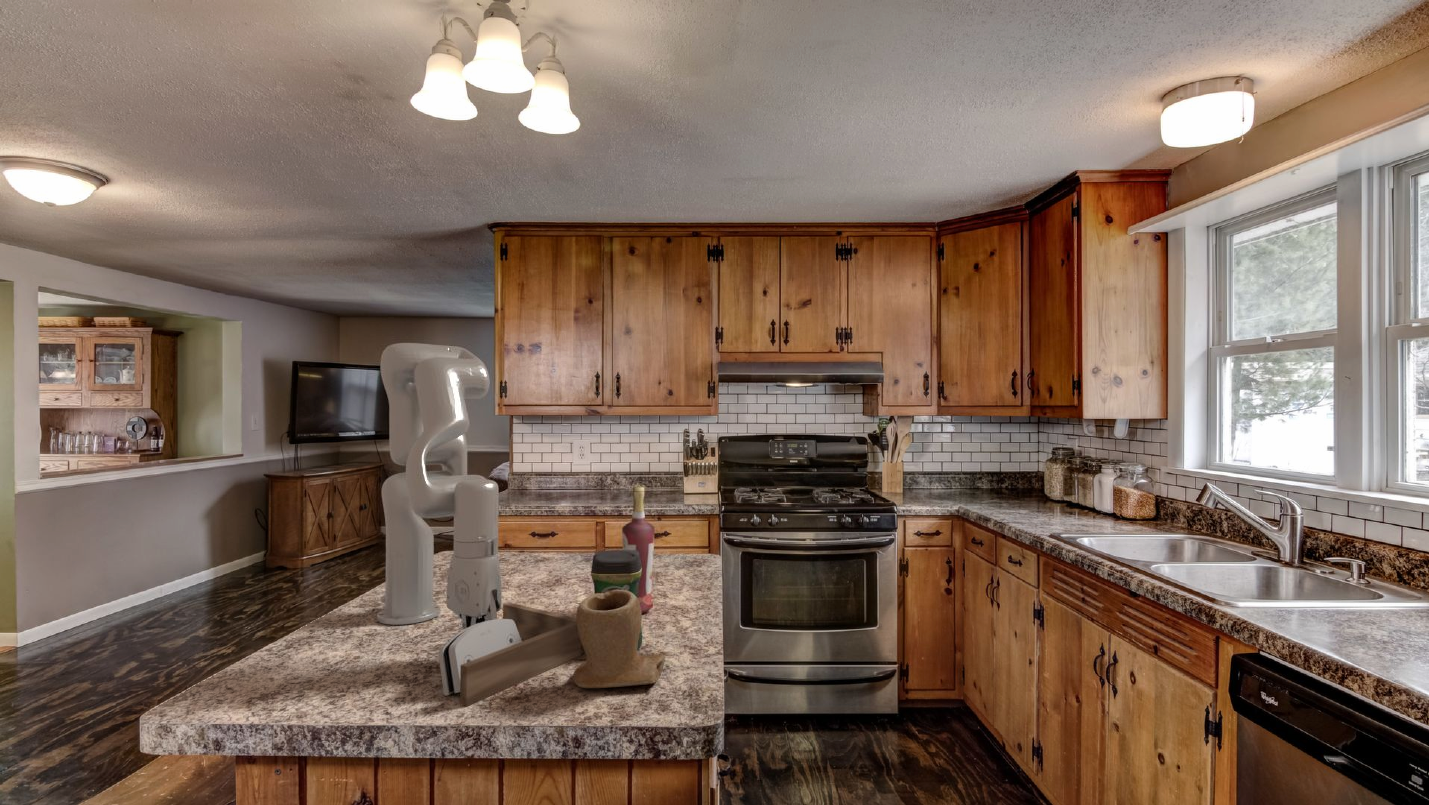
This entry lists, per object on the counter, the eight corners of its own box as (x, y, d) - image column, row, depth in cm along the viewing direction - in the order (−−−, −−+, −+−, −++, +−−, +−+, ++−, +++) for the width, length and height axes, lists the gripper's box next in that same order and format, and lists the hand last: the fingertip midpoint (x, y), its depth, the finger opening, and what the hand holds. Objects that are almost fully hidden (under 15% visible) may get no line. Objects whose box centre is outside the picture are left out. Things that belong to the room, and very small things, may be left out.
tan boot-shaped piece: (567, 701, 100) (567, 604, 100) (577, 670, 111) (578, 584, 112) (665, 698, 101) (665, 602, 101) (665, 668, 112) (665, 582, 113)
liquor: (658, 614, 143) (658, 488, 143) (626, 618, 140) (627, 489, 141) (648, 605, 150) (649, 484, 150) (618, 608, 147) (618, 486, 147)
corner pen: (385, 675, 109) (386, 640, 109) (508, 632, 131) (509, 602, 131) (466, 706, 97) (466, 667, 98) (586, 653, 119) (586, 620, 120)
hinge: (468, 700, 99) (451, 636, 101) (445, 706, 101) (429, 643, 102) (534, 661, 115) (519, 606, 116) (514, 667, 117) (499, 613, 118)
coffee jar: (643, 640, 126) (644, 546, 126) (640, 655, 118) (640, 554, 118) (594, 641, 126) (595, 546, 126) (587, 656, 118) (587, 555, 118)
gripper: (431, 547, 116) (430, 648, 116) (485, 558, 108) (484, 667, 108) (467, 540, 123) (466, 636, 122) (520, 550, 115) (519, 653, 114)
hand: (474, 650), depth 115 cm, fingers closed
